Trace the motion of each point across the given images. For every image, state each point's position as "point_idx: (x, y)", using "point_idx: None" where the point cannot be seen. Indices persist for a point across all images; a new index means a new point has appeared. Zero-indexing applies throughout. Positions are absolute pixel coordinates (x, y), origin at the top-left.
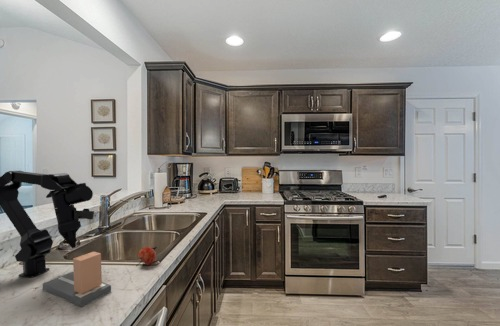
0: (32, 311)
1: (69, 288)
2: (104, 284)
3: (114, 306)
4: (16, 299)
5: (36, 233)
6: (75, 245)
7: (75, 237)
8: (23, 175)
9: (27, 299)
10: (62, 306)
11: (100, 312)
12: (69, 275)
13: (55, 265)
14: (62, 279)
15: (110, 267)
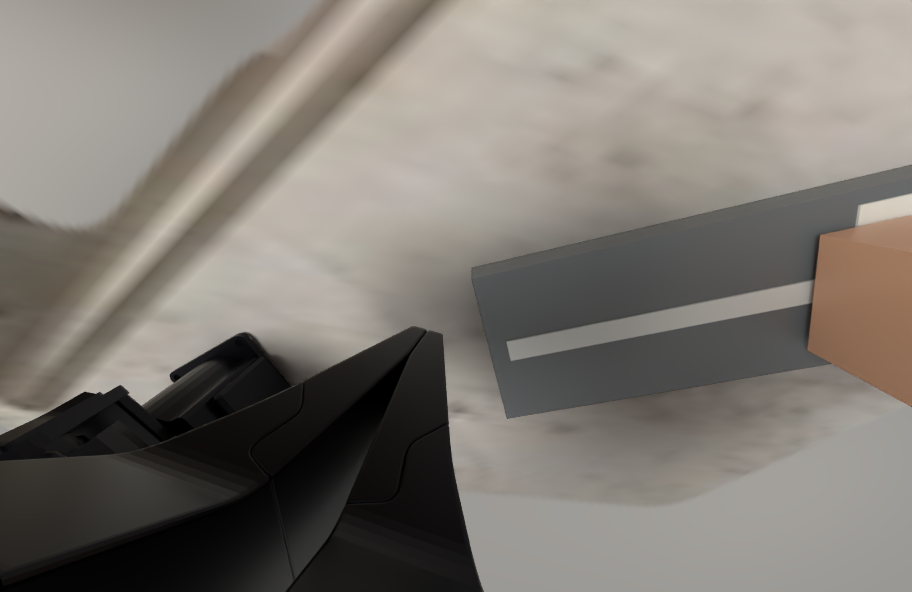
0: (690, 451)
1: (718, 349)
2: None
3: None
4: (513, 469)
5: None
6: (441, 345)
7: (447, 443)
8: None
9: (554, 447)
10: (780, 377)
11: None
12: (521, 307)
13: (184, 294)
14: (553, 348)
15: (528, 9)
